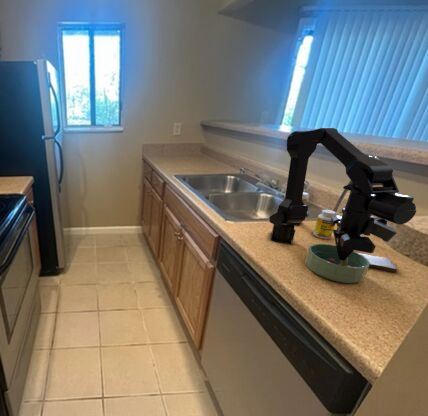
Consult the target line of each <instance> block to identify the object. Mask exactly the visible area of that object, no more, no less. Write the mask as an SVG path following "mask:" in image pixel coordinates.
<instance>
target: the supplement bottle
mask: <svg viewBox="0 0 428 416" xmlns="http://www.w3.org/2000/svg"><path fill="white" fill-rule="evenodd" d="M336 215H337V211H336V212H334V211H333V210H330V209H322V210H321V213H320V214H318V215H317V217H316V222H315V225H314V228H313V232H312V234H313V236H314V237H317V238H320V239H327V240H328V239H330V238H331V237H332V234H333V230H335V229H334V228H335V226H336V224H335V225H334V226H331V224H330V221H331V218H332V217H334V216H336Z"/></svg>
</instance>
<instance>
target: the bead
mask: <svg viewBox="0 0 428 416" xmlns="http://www.w3.org/2000/svg"><path fill="white" fill-rule="evenodd" d="M327 261H328V262H331V263H334V264H335V260H334V259H333V258H329V259H328V260H327Z"/></svg>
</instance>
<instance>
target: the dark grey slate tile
mask: <svg viewBox="0 0 428 416" xmlns="http://www.w3.org/2000/svg"><path fill="white" fill-rule="evenodd" d="M358 253H359V254H361V255H363V256H364V257H365V258H367V259H368V261H369V262H370V265H369V268H372V269H376V270H381V271H386V272H391V273H397V271H398V268H397V266H395V264H394V263H393V262H392V261H391V259H390V258H389V257H384V256H377V255H372V254H368V253H363V252H358Z"/></svg>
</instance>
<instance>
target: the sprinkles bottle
mask: <svg viewBox="0 0 428 416" xmlns="http://www.w3.org/2000/svg"><path fill="white" fill-rule="evenodd" d="M309 196H310V194H309V193H308V192H305V191H303V196H302V201H303V202H304V204H305V205H307V201H308V199H309Z"/></svg>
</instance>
